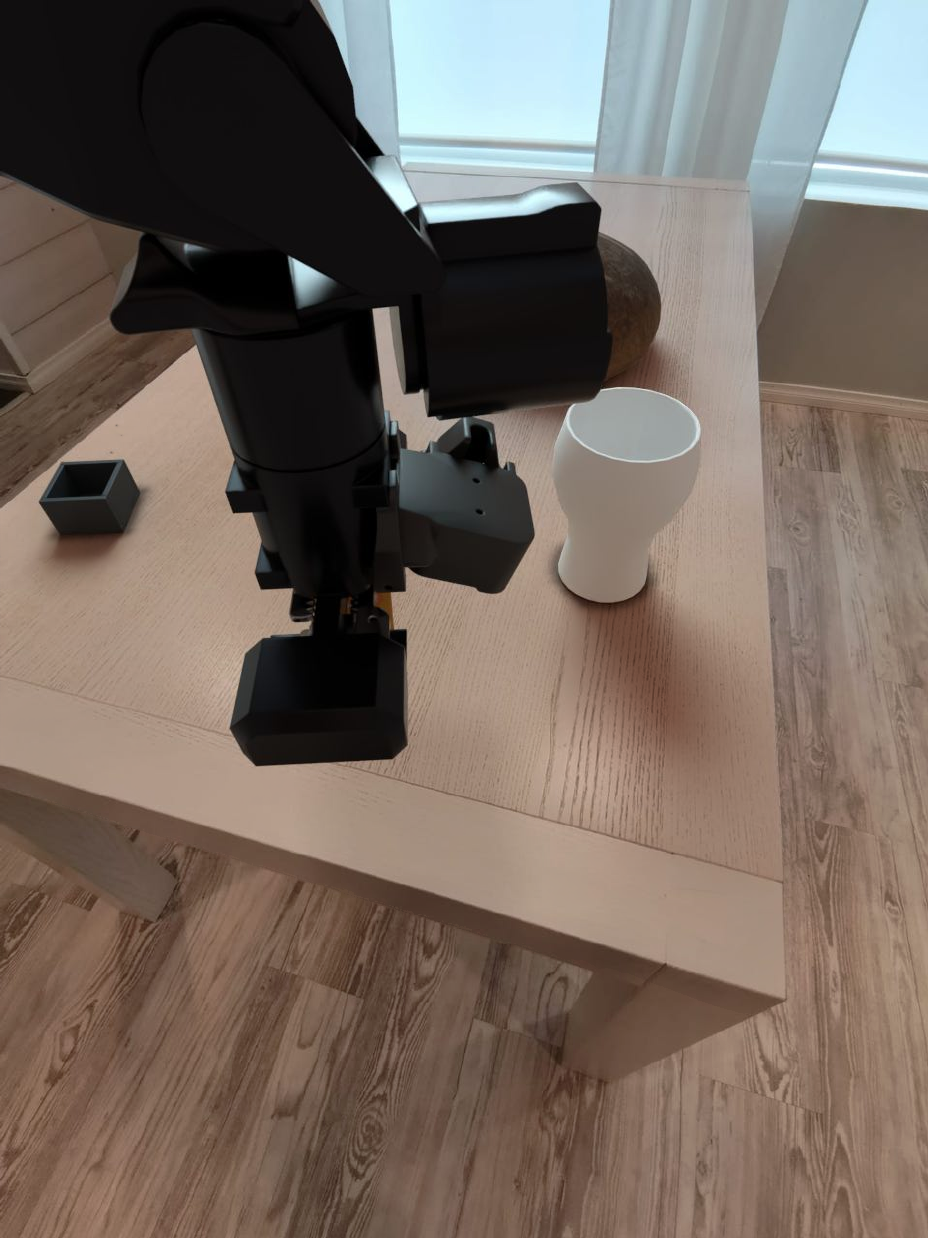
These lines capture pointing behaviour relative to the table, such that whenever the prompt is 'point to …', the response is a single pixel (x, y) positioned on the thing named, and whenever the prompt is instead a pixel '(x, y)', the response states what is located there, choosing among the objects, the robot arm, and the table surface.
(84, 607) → the table surface
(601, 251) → the bread
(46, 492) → the trash bin
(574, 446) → the cup
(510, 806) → the table surface
